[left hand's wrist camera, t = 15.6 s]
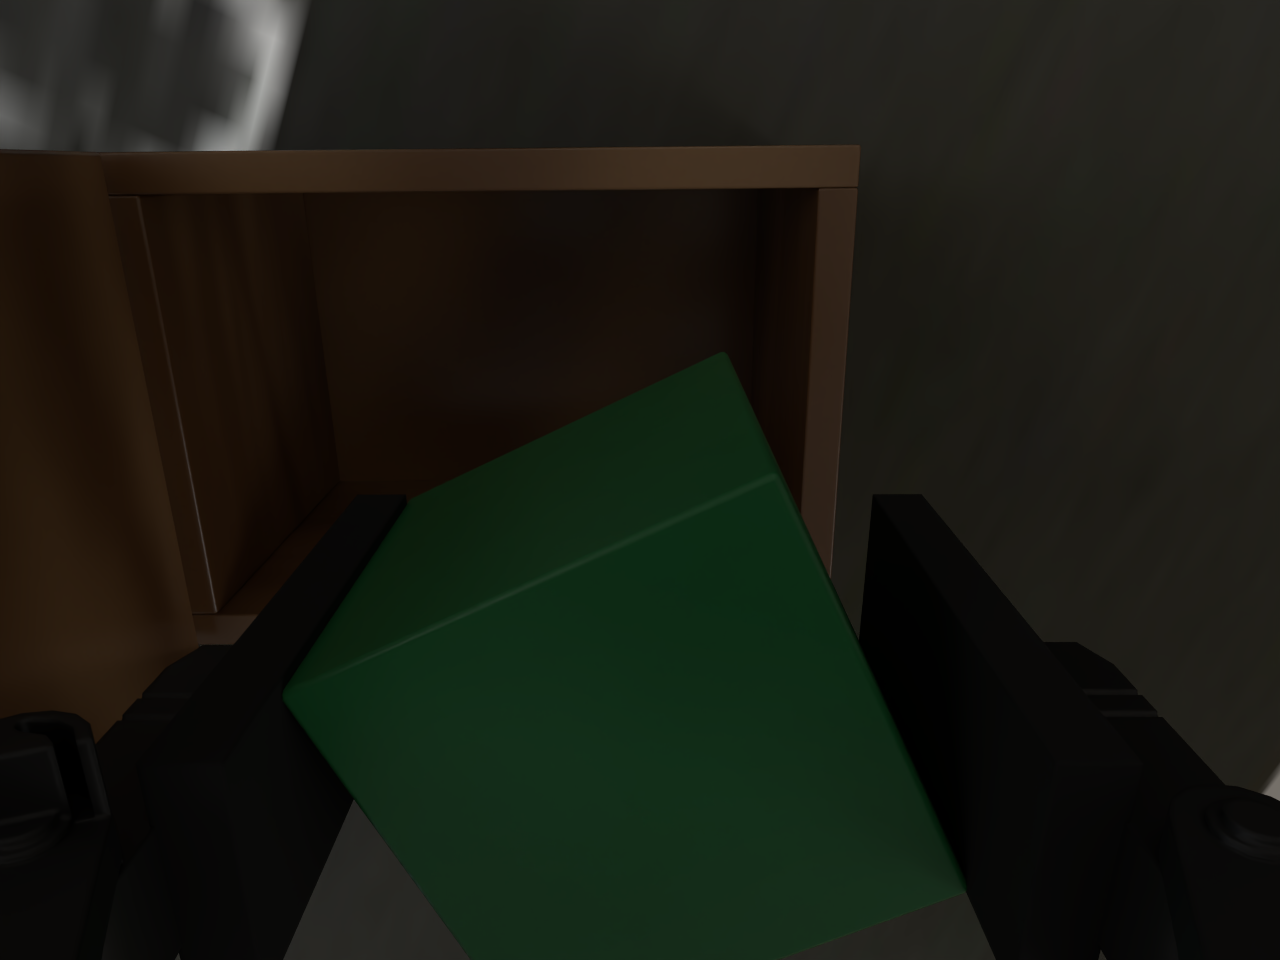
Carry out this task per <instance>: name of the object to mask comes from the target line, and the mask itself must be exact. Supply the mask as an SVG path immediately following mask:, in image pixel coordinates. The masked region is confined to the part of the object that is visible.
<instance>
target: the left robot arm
mask: <svg viewBox="0 0 1280 960" xmlns="http://www.w3.org/2000/svg"><path fill="white" fill-rule="evenodd" d="M406 505H407V500H406V494H369V495H357V496H356V497H355V498H354V499H353V500H352V502H351V503H350V504H349V505H348V507H347V508H346V509H345V510H344V511H343V513H342V514H341V515H340V516H339V517H338V519H337V520H336V521H335V522H334V524H333V525H332V526H331V527H330V528H329V530H328V531H327V532H326V533H325V534H324V536H323V537H322V538H321V539H320V540H319V542H318V543H317V544H316V545H315V547H314V548H313V549H312V550H311V551H310V553H309V554H308V555H307V556H306V557H305V559H304V560H303V561H302V562H301V564H300V565H299V566H298V567H297V568H296V570H295V571H294V572H293V573H292V574H291V576H290V577H289V578H288V579H287V581H286V582H285V583H284V584H283V585H282V587H281V588H280V589H279V590H278V591H277V593H276V594H275V595H274V596H273V597H272V599H271V600H270V601H269V602H268V604H267V605H266V606H265V607H264V608H263V610H262V611H261V612H260V613H259V614H258V616H257V617H256V618H255V619H254V621H253V622H252V623H251V624H250V625H249V627H248V628H247V629H246V630H245V631H244V633H243V634H242V635H241V636H240V638H239V639H238V640H237V641H236V642H235V644H234V645H202V646H201V647H199V648H197V649H196V650H194V651H192V652H191V653H189V654H187V655H186V656H184V657H182V658H181V659H179V660H177V661H176V662H174V663H172V664H171V665H169V666H168V667H166V668H165V669H164V670H163V671H162V672H161V673H160V674H159V676H158V677H157V678H156V679H155V680H154V681H153V682H152V683H151V684H150V685H149V686H148V688H147V689H146V690H145V691H144V692H143V693H142V698H137V699H136V701H135V702H134V703H133V704H132V705H131V706H130V707H129V708H128V709H127V710H126V711H125V713H124V714H123V715H122V720H117V721H116V722H115V723H114V724H113V726H112V727H111V728H110V729H109V730H108V731H107V732H106V733H105V734H104V735H103V736H102V738H101V739H100V740H99V741H98V742H97V743H96V744H95V740H94V736H93V732H92V728H91V724H90V723H89V722H87V721H86V720H85V719H83V718H82V717H80V716H79V715H77V714H74V713H67V712H61V711H54V710H50V711H40V712H29V713H20V714H17V715H13V716H9V717H5V718H2V719H0V960H175V958H176V956H177V955H178V953H179V954H180V959H181V960H283V958H284V956H285V954H286V952H287V949H288V947H289V945H290V942H291V940H292V938H293V936H294V933H295V931H296V929H297V927H298V924H299V922H300V920H301V918H302V915H303V913H304V911H305V908H306V906H307V904H308V902H309V899H310V897H311V895H312V893H313V890H314V888H315V886H316V884H317V881H318V879H319V877H320V874H321V872H322V870H323V868H324V865H325V863H326V861H327V859H328V856H329V854H330V852H331V850H332V847H333V845H334V843H335V840H336V838H337V836H338V834H339V831H340V829H341V827H342V825H343V822H344V820H345V818H346V816H347V813H348V811H349V809H350V806H351V804H352V802H353V800H354V798H353V797H352V796H351V794H350V793H349V792H348V790H347V789H346V787H345V786H344V785H343V783H342V782H341V781H340V779H339V778H338V776H337V775H336V774H335V772H334V771H333V770H332V768H331V767H330V765H329V764H328V763H327V761H326V760H325V759H324V757H323V756H322V754H321V753H320V752H319V750H318V749H317V748H316V746H315V745H314V743H313V742H312V741H311V739H310V738H309V737H308V735H307V734H306V732H305V731H304V730H303V728H302V727H301V726H300V724H299V723H298V721H297V720H296V719H295V717H294V716H293V715H292V713H291V712H290V710H289V709H288V708H287V706H286V705H285V704H284V702H283V701H282V692H283V690H284V688H285V687H286V685H287V684H288V682H289V681H290V679H291V678H292V676H293V675H294V673H295V672H296V670H297V669H298V667H299V666H300V664H301V663H302V661H303V660H304V658H305V657H306V655H307V654H308V652H309V651H310V649H311V648H312V646H313V645H314V643H315V642H316V640H317V639H318V637H319V636H320V634H321V633H322V631H323V630H324V628H325V627H326V625H327V624H328V622H329V621H330V619H331V618H332V616H333V615H334V613H335V612H336V610H337V609H338V607H339V606H340V604H341V603H342V601H343V600H344V598H345V597H346V595H347V594H348V592H349V591H350V589H351V588H352V586H353V585H354V583H355V582H356V580H357V579H358V577H359V576H360V574H361V573H362V571H363V570H364V568H365V567H366V565H367V564H368V562H369V561H370V559H371V558H372V556H373V555H374V553H375V552H376V550H377V549H378V547H379V546H380V544H381V543H382V541H383V540H384V538H385V537H386V535H387V534H388V532H389V531H390V529H391V528H392V526H393V525H394V523H395V522H396V520H397V519H398V517H399V516H400V514H401V513H402V511H403V510H404V508H405V507H406ZM859 642H860V644H861V647H862V649H863V651H864V653H865V656H866V658H867V660H868V662H869V664H870V667H871V669H872V671H873V673H874V676H875V678H876V680H877V682H878V684H879V687H880V689H881V691H882V693H883V696H884V698H885V700H886V702H887V704H888V707H889V709H890V711H891V713H892V716H893V718H894V720H895V722H896V724H897V727H898V729H899V731H900V733H901V736H902V738H903V740H904V742H905V744H906V747H907V749H908V751H909V753H910V756H911V758H912V760H913V762H914V764H915V767H916V769H917V771H918V773H919V776H920V778H921V780H922V782H923V784H924V787H925V789H926V791H927V793H928V796H929V798H930V800H931V802H932V804H933V807H934V809H935V811H936V813H937V816H938V818H939V820H940V822H941V824H942V827H943V829H944V831H945V833H946V836H947V838H948V840H949V842H950V844H951V847H952V849H953V851H954V853H955V856H956V858H957V860H958V862H959V864H960V867H961V869H962V871H963V873H964V876H965V878H966V882H967V891H966V893H967V895H968V897H969V899H970V902H971V904H972V906H973V908H974V911H975V913H976V915H977V918H978V920H979V922H980V924H981V927H982V929H983V931H984V933H985V936H986V938H987V940H988V942H989V945H990V947H991V949H992V952H993V954H994V956H995V958H996V960H1098V958H1099V954H1100V950H1102V952H1103V954H1104V955H1105V957H1106V959H1107V960H1280V801H1279V800H1277V799H1275V798H1273V797H1270V796H1267V795H1264V794H1261V793H1257V792H1254V791H1251V790H1247V789H1244V788H1241V787H1237V786H1227V785H1225V784H1224V783H1223V782H1222V781H1221V780H1220V779H1219V778H1218V777H1217V776H1216V775H1215V773H1214V772H1213V771H1212V770H1211V769H1210V768H1209V767H1208V766H1207V765H1206V764H1205V763H1204V762H1203V760H1202V759H1201V758H1200V757H1199V756H1198V755H1197V754H1196V753H1195V752H1194V751H1193V750H1192V749H1191V748H1190V746H1189V745H1188V744H1187V743H1186V742H1185V741H1184V740H1183V739H1182V738H1181V737H1180V736H1179V735H1178V733H1177V732H1176V731H1175V730H1174V729H1173V728H1172V727H1171V726H1170V725H1169V724H1168V723H1167V722H1166V721H1165V719H1164V718H1163V717H1158V716H1157V711H1156V710H1155V709H1154V708H1153V706H1152V705H1151V704H1150V703H1149V702H1148V701H1147V700H1146V699H1145V698H1144V697H1143V696H1142V695H1138V694H1137V689H1136V688H1135V687H1134V686H1133V685H1132V684H1131V683H1130V682H1129V681H1128V679H1127V678H1126V677H1125V676H1124V675H1123V674H1122V673H1121V672H1120V671H1119V670H1118V669H1117V668H1116V666H1115V665H1114V664H1112V663H1110V662H1109V661H1107V660H1105V659H1104V658H1102V657H1100V656H1099V655H1097V654H1095V653H1094V652H1092V651H1090V650H1089V649H1087V648H1085V647H1084V646H1082V645H1080V644H1079V643H1077V642H1043V641H1042V640H1041V639H1040V638H1039V636H1038V635H1037V634H1036V633H1035V632H1034V630H1033V629H1032V628H1031V627H1030V625H1029V624H1028V623H1027V622H1026V621H1025V619H1024V618H1023V617H1022V616H1021V615H1020V613H1019V612H1018V611H1017V610H1016V608H1015V607H1014V606H1013V605H1012V604H1011V602H1010V601H1009V600H1008V599H1007V598H1006V596H1005V595H1004V594H1003V593H1002V591H1001V590H1000V589H999V588H998V587H997V585H996V584H995V583H994V582H993V581H992V579H991V578H990V577H989V576H988V575H987V573H986V572H985V571H984V570H983V568H982V567H981V566H980V565H979V564H978V562H977V561H976V560H975V559H974V558H973V556H972V555H971V554H970V553H969V551H968V550H967V549H966V548H965V547H964V545H963V544H962V543H961V542H960V541H959V539H958V538H957V537H956V536H955V534H954V533H953V532H952V531H951V530H950V528H949V527H948V526H947V525H946V524H945V522H944V521H943V520H942V519H941V517H940V516H939V515H938V514H937V513H936V511H935V510H934V509H933V508H932V507H931V505H930V504H929V503H928V502H927V500H926V499H925V498H924V497H923V496H922V494H873V500H872V510H871V521H870V531H869V542H868V552H867V563H866V573H865V584H864V594H863V605H862V615H861V625H860V636H859Z"/></svg>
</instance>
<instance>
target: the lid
mask: <svg viewBox="0 0 1280 960" xmlns="http://www.w3.org/2000/svg"><path fill="white" fill-rule="evenodd" d="M197 648H199V646H198V641H197V636H196V631H195V626H194V621H193V616H192V611H191V606H190V601H189V596H188V591H187V586H186V581H185V576H184V571H183V566H182V561H181V556H180V551H179V546H178V541H177V536H176V531H175V526H174V521H173V516H172V511H171V506H170V501H169V496H168V491H167V486H166V481H165V476H164V471H163V466H162V461H161V456H160V451H159V446H158V441H157V436H156V431H155V426H154V421H153V416H152V411H151V406H150V401H149V396H148V391H147V386H146V381H145V376H144V371H143V366H142V361H141V356H140V351H139V346H138V341H137V336H136V331H135V326H134V321H133V316H132V311H131V306H130V301H129V296H128V291H127V286H126V281H125V276H124V271H123V266H122V261H121V256H120V251H119V246H118V241H117V236H116V231H115V226H114V221H113V216H112V211H111V206H110V201H109V196H108V191H107V186H106V181H105V176H104V171H103V166H102V161H101V156H100V155H99V153H96V152H81V151H47V150H13V149H0V719H2V718H5V717H9V716H13V715H17V714H20V713H29V712H40V711H50V710H54V711H61V712H67V713H74V714H77V715H79V716H80V717H82V718H83V719H85V720H86V721H87V722H89V723H90V724H91V728H92V732H93V736H94V740H95V744H96V743H97V742H98V741H99V740H100V739H101V738H102V736H103V735H104V734H105V733H106V732H107V731H108V730H109V729H110V728H111V727H112V726H113V724H114V723H115V722H116V721H117V720H122V715H123V714H124V713H125V711H126V710H127V709H128V708H129V707H130V706H131V705H132V704H133V703H134V702H135V701H136V699H137V698H142V693H143V692H144V691H145V690H146V689H147V688H148V686H149V685H150V684H151V683H152V682H153V681H154V680H155V679H156V678H157V677H158V676H159V674H160V673H161V672H162V671H163V670H164V669H165V668H166V667H168V666H169V665H171V664H172V663H174V662H176V661H177V660H179V659H181V658H182V657H184V656H186V655H187V654H189V653H191V652H192V651H194V650H196V649H197Z"/></svg>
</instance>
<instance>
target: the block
mask: <svg viewBox="0 0 1280 960" xmlns="http://www.w3.org/2000/svg"><path fill="white" fill-rule="evenodd" d="M282 701H283V702H284V704H285V705H286V706H287V708H288V709H289V710H290V712H291V713H292V715H293V716H294V717H295V719H296V720H297V721H298V723H299V724H300V726H301V727H302V728H303V730H304V731H305V732H306V734H307V735H308V737H309V738H310V739H311V741H312V742H313V743H314V745H315V746H316V748H317V749H318V750H319V752H320V753H321V754H322V756H323V757H324V759H325V760H326V761H327V763H328V764H329V765H330V767H331V768H332V770H333V771H334V772H335V774H336V775H337V776H338V778H339V779H340V781H341V782H342V783H343V785H344V786H345V787H346V789H347V790H348V792H349V793H350V794H351V796H352V797H353V798H354V800H355V801H356V803H357V804H358V805H359V807H360V808H361V809H362V811H363V812H364V814H365V815H366V816H367V818H368V819H369V820H370V822H371V823H372V825H373V826H374V827H375V829H376V830H377V831H378V833H379V834H380V836H381V837H382V838H383V840H384V841H385V842H386V844H387V845H388V847H389V848H390V849H391V851H392V852H393V853H394V855H395V856H396V858H397V859H398V860H399V862H400V863H401V864H402V866H403V867H404V869H405V870H406V871H407V873H408V874H409V875H410V877H411V878H412V880H413V881H414V882H415V884H416V885H417V886H418V888H419V889H420V891H421V892H422V893H423V895H424V896H425V897H426V899H427V900H428V902H429V903H430V904H431V906H432V907H433V908H434V910H435V911H436V913H437V914H438V915H439V917H440V918H441V919H442V921H443V922H444V924H445V925H446V926H447V928H448V929H449V930H450V932H451V933H452V935H453V936H454V937H455V939H456V940H457V941H458V943H459V944H460V946H461V947H462V948H463V950H464V951H465V952H466V954H467V955H468V957H469V958H470V959H471V960H779V959H782V958H785V957H788V956H790V955H793V954H796V953H799V952H802V951H804V950H807V949H810V948H813V947H816V946H818V945H821V944H824V943H827V942H829V941H832V940H835V939H838V938H841V937H843V936H846V935H849V934H852V933H855V932H857V931H860V930H863V929H866V928H868V927H871V926H874V925H877V924H880V923H882V922H885V921H888V920H891V919H894V918H896V917H899V916H902V915H905V914H907V913H910V912H913V911H916V910H919V909H921V908H924V907H927V906H930V905H933V904H935V903H938V902H941V901H944V900H946V899H949V898H952V897H955V896H958V895H960V894H963V893H965V892H966V891H967V882H966V878H965V876H964V873H963V871H962V869H961V867H960V864H959V862H958V860H957V858H956V856H955V853H954V851H953V849H952V847H951V844H950V842H949V840H948V838H947V836H946V833H945V831H944V829H943V827H942V824H941V822H940V820H939V818H938V816H937V813H936V811H935V809H934V807H933V804H932V802H931V800H930V798H929V796H928V793H927V791H926V789H925V787H924V784H923V782H922V780H921V778H920V776H919V773H918V771H917V769H916V767H915V764H914V762H913V760H912V758H911V756H910V753H909V751H908V749H907V747H906V744H905V742H904V740H903V738H902V736H901V733H900V731H899V729H898V727H897V724H896V722H895V720H894V718H893V716H892V713H891V711H890V709H889V707H888V704H887V702H886V700H885V698H884V696H883V693H882V691H881V689H880V687H879V684H878V682H877V680H876V678H875V676H874V673H873V671H872V669H871V667H870V664H869V662H868V660H867V658H866V656H865V653H864V651H863V649H862V647H861V644H860V642H859V640H858V638H857V636H856V633H855V631H854V629H853V627H852V625H851V623H850V620H849V618H848V616H847V614H846V612H845V609H844V607H843V605H842V603H841V601H840V599H839V596H838V594H837V592H836V590H835V588H834V585H833V583H832V581H831V579H830V577H829V575H828V572H827V570H826V568H825V566H824V564H823V561H822V559H821V557H820V555H819V553H818V551H817V548H816V546H815V544H814V542H813V540H812V537H811V535H810V533H809V531H808V529H807V527H806V524H805V522H804V520H803V518H802V516H801V514H800V511H799V509H798V507H797V505H796V503H795V500H794V498H793V496H792V494H791V492H790V490H789V487H788V485H787V483H786V481H785V479H784V476H783V474H782V472H781V470H780V468H779V466H778V463H777V461H776V459H775V457H774V455H773V452H772V450H771V448H770V446H769V444H768V442H767V439H766V437H765V435H764V433H763V431H762V428H761V426H760V424H759V422H758V420H757V418H756V415H755V413H754V411H753V409H752V407H751V404H750V402H749V400H748V398H747V396H746V394H745V391H744V389H743V387H742V385H741V383H740V381H739V378H738V376H737V374H736V372H735V370H734V367H733V365H732V363H731V361H730V359H729V357H728V354H726V353H725V352H720V353H718V354H716V355H713V356H711V357H709V358H707V359H705V360H703V361H701V362H699V363H697V364H694V365H692V366H690V367H688V368H686V369H684V370H682V371H680V372H678V373H676V374H673V375H671V376H669V377H667V378H665V379H663V380H661V381H659V382H657V383H654V384H652V385H650V386H648V387H646V388H644V389H642V390H640V391H638V392H635V393H633V394H631V395H629V396H627V397H625V398H623V399H621V400H619V401H616V402H614V403H612V404H610V405H608V406H606V407H604V408H602V409H600V410H597V411H595V412H593V413H591V414H589V415H587V416H585V417H583V418H581V419H578V420H576V421H574V422H572V423H570V424H568V425H566V426H564V427H562V428H559V429H557V430H555V431H553V432H551V433H549V434H547V435H545V436H543V437H540V438H538V439H536V440H534V441H532V442H530V443H528V444H526V445H524V446H521V447H519V448H517V449H515V450H513V451H511V452H509V453H507V454H505V455H502V456H500V457H498V458H496V459H494V460H492V461H490V462H488V463H486V464H483V465H481V466H479V467H477V468H475V469H473V470H471V471H469V472H467V473H464V474H462V475H460V476H458V477H456V478H454V479H452V480H450V481H448V482H445V483H443V484H441V485H439V486H437V487H435V488H433V489H431V490H429V491H426V492H424V493H422V494H420V495H418V496H416V497H414V498H412V499H410V501H409V502H408V503H407V505H406V507H405V508H404V510H403V511H402V513H401V514H400V516H399V517H398V519H397V520H396V522H395V523H394V525H393V526H392V528H391V529H390V531H389V532H388V534H387V535H386V537H385V538H384V540H383V541H382V543H381V544H380V546H379V547H378V549H377V550H376V552H375V553H374V555H373V556H372V558H371V559H370V561H369V562H368V564H367V565H366V567H365V568H364V570H363V571H362V573H361V574H360V576H359V577H358V579H357V580H356V582H355V583H354V585H353V586H352V588H351V589H350V591H349V592H348V594H347V595H346V597H345V598H344V600H343V601H342V603H341V604H340V606H339V607H338V609H337V610H336V612H335V613H334V615H333V616H332V618H331V619H330V621H329V622H328V624H327V625H326V627H325V628H324V630H323V631H322V633H321V634H320V636H319V637H318V639H317V640H316V642H315V643H314V645H313V646H312V648H311V649H310V651H309V652H308V654H307V655H306V657H305V658H304V660H303V661H302V663H301V664H300V666H299V667H298V669H297V670H296V672H295V673H294V675H293V676H292V678H291V679H290V681H289V682H288V684H287V685H286V687H285V688H284V690H283V692H282Z"/></svg>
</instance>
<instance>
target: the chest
mask: <svg viewBox="0 0 1280 960" xmlns="http://www.w3.org/2000/svg"><path fill="white" fill-rule="evenodd" d="M96 153H99V155H100V156H101V161H102V166H103V171H104V176H105V181H106V186H107V191H108V196H109V201H110V206H111V211H112V216H113V221H114V226H115V231H116V236H117V241H118V246H119V251H120V256H121V261H122V266H123V271H124V276H125V281H126V286H127V291H128V296H129V301H130V306H131V311H132V316H133V321H134V326H135V331H136V336H137V341H138V346H139V351H140V356H141V361H142V366H143V371H144V376H145V381H146V386H147V391H148V396H149V401H150V406H151V411H152V416H153V421H154V426H155V431H156V436H157V441H158V446H159V451H160V456H161V461H162V466H163V471H164V476H165V481H166V486H167V491H168V496H169V501H170V506H171V511H172V516H173V521H174V526H175V531H176V536H177V541H178V546H179V551H180V556H181V561H182V566H183V571H184V576H185V581H186V586H187V591H188V596H189V601H190V606H191V611H192V616H193V621H194V626H195V631H196V636H197V641H198V644H235V642H236V641H237V640H238V639H239V638H240V636H241V635H242V634H243V633H244V631H245V630H246V629H247V628H248V627H249V625H250V624H251V623H252V622H253V621H254V619H255V618H256V617H257V616H258V614H259V613H260V612H261V611H262V610H263V608H264V607H265V606H266V605H267V604H268V602H269V601H270V600H271V599H272V597H273V596H274V595H275V594H276V593H277V591H278V590H279V589H280V588H281V587H282V585H283V584H284V583H285V582H286V581H287V579H288V578H289V577H290V576H291V574H292V573H293V572H294V571H295V570H296V568H297V567H298V566H299V565H300V564H301V562H302V561H303V560H304V559H305V557H306V556H307V555H308V554H309V553H310V551H311V550H312V549H313V548H314V547H315V545H316V544H317V543H318V542H319V540H320V539H321V538H322V537H323V536H324V534H325V533H326V532H327V531H328V530H329V528H330V527H331V526H332V525H333V524H334V522H335V521H336V520H337V519H338V517H339V516H340V515H341V514H342V513H343V511H344V510H345V509H346V508H347V507H348V505H349V504H350V503H351V502H352V500H353V499H354V498H355V497H356V496H357V495H369V494H406V500H407V503H408V502H409V501H410V499H412V498H414V497H416V496H418V495H420V494H422V493H424V492H426V491H429V490H431V489H433V488H435V487H437V486H439V485H441V484H443V483H445V482H448V481H450V480H452V479H454V478H456V477H458V476H460V475H462V474H464V473H467V472H469V471H471V470H473V469H475V468H477V467H479V466H481V465H483V464H486V463H488V462H490V461H492V460H494V459H496V458H498V457H500V456H502V455H505V454H507V453H509V452H511V451H513V450H515V449H517V448H519V447H521V446H524V445H526V444H528V443H530V442H532V441H534V440H536V439H538V438H540V437H543V436H545V435H547V434H549V433H551V432H553V431H555V430H557V429H559V428H562V427H564V426H566V425H568V424H570V423H572V422H574V421H576V420H578V419H581V418H583V417H585V416H587V415H589V414H591V413H593V412H595V411H597V410H600V409H602V408H604V407H606V406H608V405H610V404H612V403H614V402H616V401H619V400H621V399H623V398H625V397H627V396H629V395H631V394H633V393H635V392H638V391H640V390H642V389H644V388H646V387H648V386H650V385H652V384H654V383H657V382H659V381H661V380H663V379H665V378H667V377H669V376H671V375H673V374H676V373H678V372H680V371H682V370H684V369H686V368H688V367H690V366H692V365H694V364H697V363H699V362H701V361H703V360H705V359H707V358H709V357H711V356H713V355H716V354H718V353H720V352H725V353H726V354H728V357H729V359H730V361H731V363H732V365H733V367H734V370H735V372H736V374H737V376H738V378H739V381H740V383H741V385H742V387H743V389H744V391H745V394H746V396H747V398H748V400H749V402H750V404H751V407H752V409H753V411H754V413H755V415H756V418H757V420H758V422H759V424H760V426H761V428H762V431H763V433H764V435H765V437H766V439H767V442H768V444H769V446H770V448H771V450H772V452H773V455H774V457H775V459H776V461H777V463H778V466H779V468H780V470H781V472H782V474H783V476H784V479H785V481H786V483H787V485H788V487H789V490H790V492H791V494H792V496H793V498H794V500H795V503H796V505H797V507H798V509H799V511H800V514H801V516H802V518H803V520H804V522H805V524H806V527H807V529H808V531H809V533H810V535H811V537H812V540H813V542H814V544H815V546H816V548H817V551H818V553H819V555H820V557H821V559H822V561H823V564H824V566H825V568H826V570H827V572H828V575H829V577H830V579H831V573H832V559H833V544H834V530H835V515H836V501H837V487H838V472H839V458H840V443H841V429H842V414H843V400H844V385H845V371H846V356H847V342H848V327H849V313H850V298H851V284H852V269H853V255H854V240H855V226H856V211H857V197H858V189H857V188H855V187H857V186H858V182H859V167H860V153H861V146H860V145H768V146H669V147H570V148H471V149H372V150H274V151H175V152H96Z"/></svg>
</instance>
